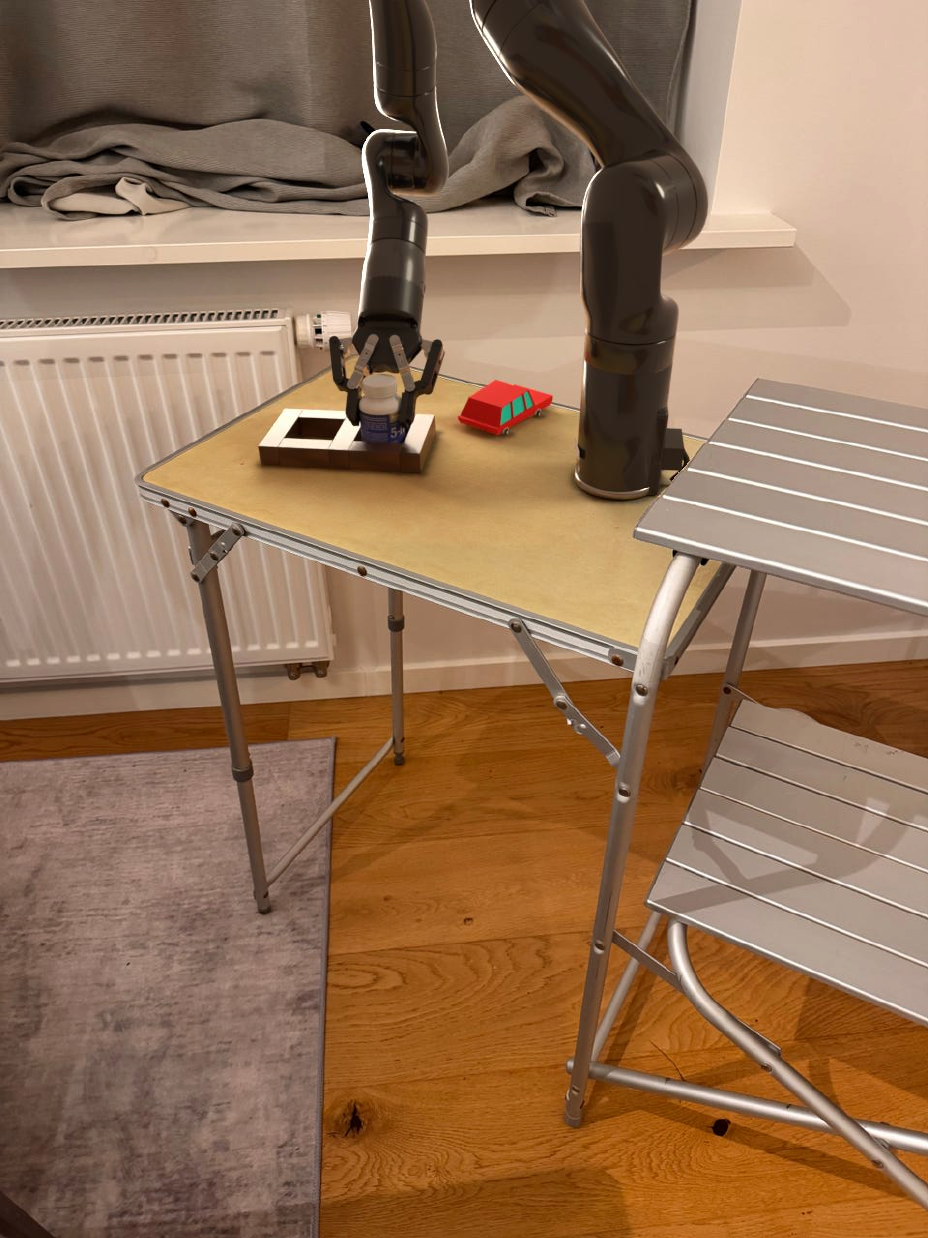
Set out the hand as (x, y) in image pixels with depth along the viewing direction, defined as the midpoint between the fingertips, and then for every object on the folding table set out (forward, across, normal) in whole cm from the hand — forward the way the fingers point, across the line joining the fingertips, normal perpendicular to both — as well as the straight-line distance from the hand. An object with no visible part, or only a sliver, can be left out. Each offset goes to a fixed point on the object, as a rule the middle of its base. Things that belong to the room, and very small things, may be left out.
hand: (379, 424), depth 105 cm
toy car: (-6, +14, +12) cm, 19 cm away
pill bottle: (+2, 0, +4) cm, 5 cm away
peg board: (+2, -4, +4) cm, 6 cm away
